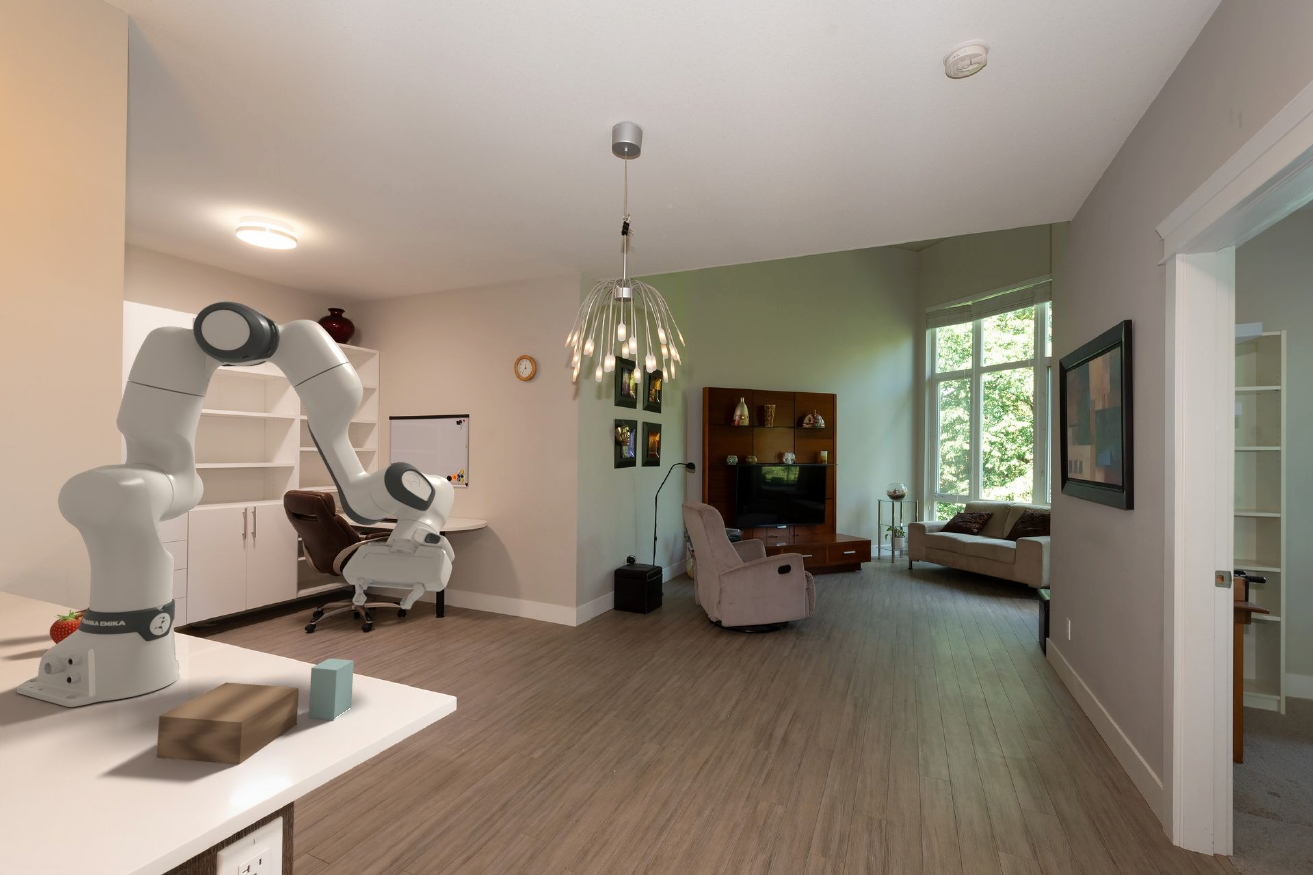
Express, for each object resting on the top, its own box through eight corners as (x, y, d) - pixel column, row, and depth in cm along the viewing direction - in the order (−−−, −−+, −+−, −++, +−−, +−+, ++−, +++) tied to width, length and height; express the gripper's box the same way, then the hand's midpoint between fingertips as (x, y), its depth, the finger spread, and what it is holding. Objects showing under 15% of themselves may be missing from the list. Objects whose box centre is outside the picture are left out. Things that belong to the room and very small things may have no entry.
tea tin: (308, 717, 97) (311, 667, 97) (326, 705, 101) (329, 658, 101) (334, 720, 96) (336, 670, 96) (351, 708, 101) (353, 660, 101)
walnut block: (156, 759, 83) (159, 716, 83) (224, 720, 95) (226, 682, 95) (239, 766, 82) (241, 722, 82) (296, 725, 94) (298, 687, 94)
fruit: (67, 654, 118) (69, 613, 118) (41, 653, 118) (43, 612, 118) (93, 645, 123) (95, 606, 123) (68, 644, 123) (70, 605, 124)
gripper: (357, 531, 121) (321, 591, 111) (453, 538, 118) (426, 600, 109) (369, 550, 125) (336, 609, 115) (462, 557, 123) (437, 618, 113)
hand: (380, 605), depth 112 cm, fingers open, 8 cm apart
